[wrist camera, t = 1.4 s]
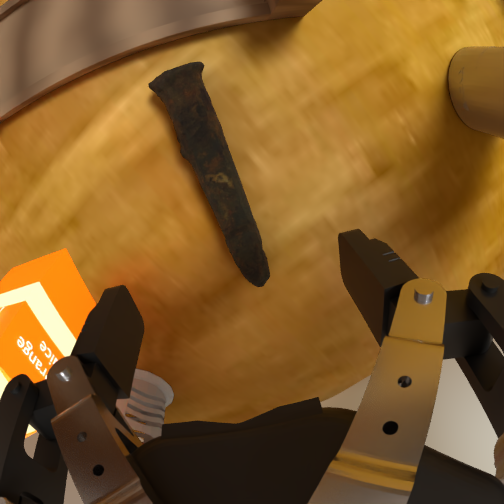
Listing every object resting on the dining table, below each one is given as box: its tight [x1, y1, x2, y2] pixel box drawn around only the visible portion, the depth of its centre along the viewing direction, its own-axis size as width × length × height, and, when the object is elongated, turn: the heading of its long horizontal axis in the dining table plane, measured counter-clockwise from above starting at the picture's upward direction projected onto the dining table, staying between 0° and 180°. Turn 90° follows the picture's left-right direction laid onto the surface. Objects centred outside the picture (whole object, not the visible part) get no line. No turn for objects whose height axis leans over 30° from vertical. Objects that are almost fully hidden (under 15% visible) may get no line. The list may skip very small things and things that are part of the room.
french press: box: [116, 369, 174, 444], centre depth 25 cm, size 10×12×25 cm
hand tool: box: [149, 62, 270, 287], centre depth 23 cm, size 19×4×5 cm, turn 17°
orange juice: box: [0, 248, 96, 438], centre depth 19 cm, size 8×9×20 cm
